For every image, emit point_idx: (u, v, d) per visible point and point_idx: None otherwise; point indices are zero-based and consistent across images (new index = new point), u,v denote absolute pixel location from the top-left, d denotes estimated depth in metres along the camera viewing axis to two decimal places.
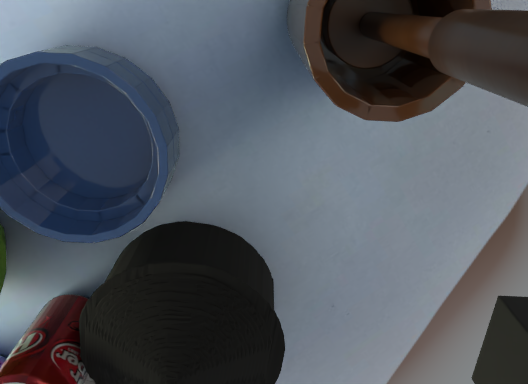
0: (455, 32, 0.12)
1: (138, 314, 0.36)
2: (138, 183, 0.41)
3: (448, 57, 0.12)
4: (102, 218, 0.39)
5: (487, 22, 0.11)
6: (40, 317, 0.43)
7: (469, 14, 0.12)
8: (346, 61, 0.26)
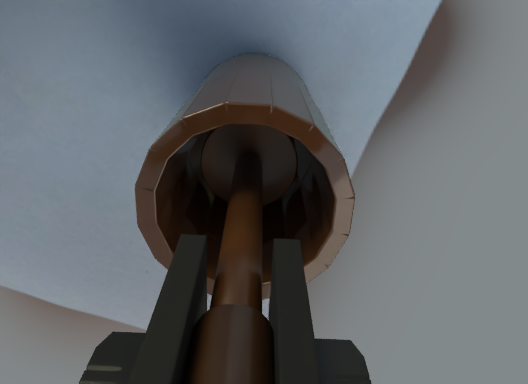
0: (247, 360, 0.09)
1: None
2: None
3: (215, 357, 0.09)
4: None
5: None
6: None
7: (269, 366, 0.09)
8: (207, 141, 0.22)
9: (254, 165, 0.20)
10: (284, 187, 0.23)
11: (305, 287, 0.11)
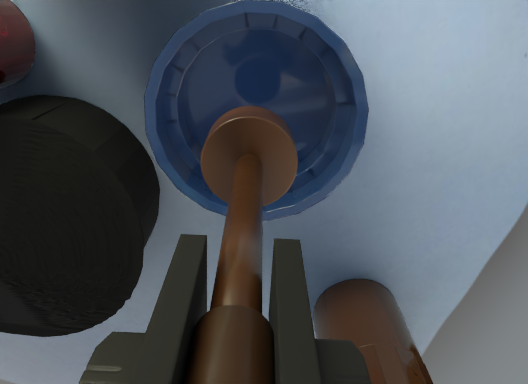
0: (247, 362, 0.09)
1: (71, 209, 0.29)
2: None
3: (215, 359, 0.09)
4: (168, 123, 0.33)
5: None
6: (1, 17, 0.30)
7: (269, 368, 0.09)
8: (207, 141, 0.22)
9: (254, 165, 0.20)
10: (284, 187, 0.23)
11: (305, 287, 0.11)
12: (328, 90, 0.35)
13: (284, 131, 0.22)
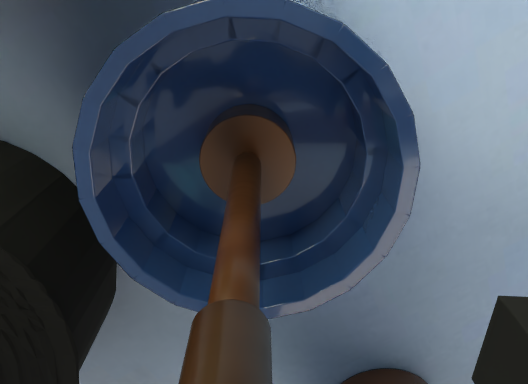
0: (244, 355, 0.09)
1: None
2: (176, 207, 0.26)
3: (212, 352, 0.09)
4: (118, 179, 0.23)
5: None
6: None
7: (266, 361, 0.09)
8: (206, 139, 0.22)
9: (252, 163, 0.21)
10: (282, 185, 0.23)
11: None
12: (352, 127, 0.24)
13: (282, 129, 0.22)
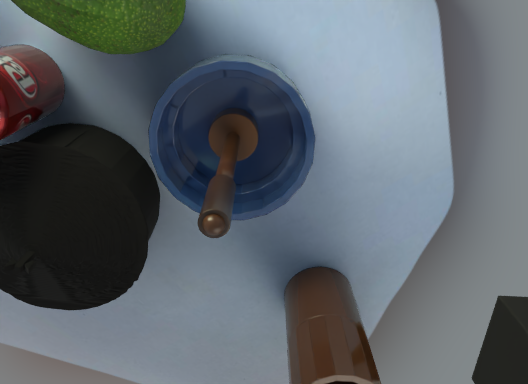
0: (225, 184, 0.30)
1: (95, 212, 0.40)
2: (195, 164, 0.47)
3: (216, 183, 0.30)
4: (166, 146, 0.44)
5: (228, 194, 0.29)
6: (42, 70, 0.41)
7: (232, 188, 0.31)
8: (212, 126, 0.43)
9: (235, 137, 0.42)
10: (251, 150, 0.44)
11: None
12: (289, 120, 0.46)
13: (250, 121, 0.43)
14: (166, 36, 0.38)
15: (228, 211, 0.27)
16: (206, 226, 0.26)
